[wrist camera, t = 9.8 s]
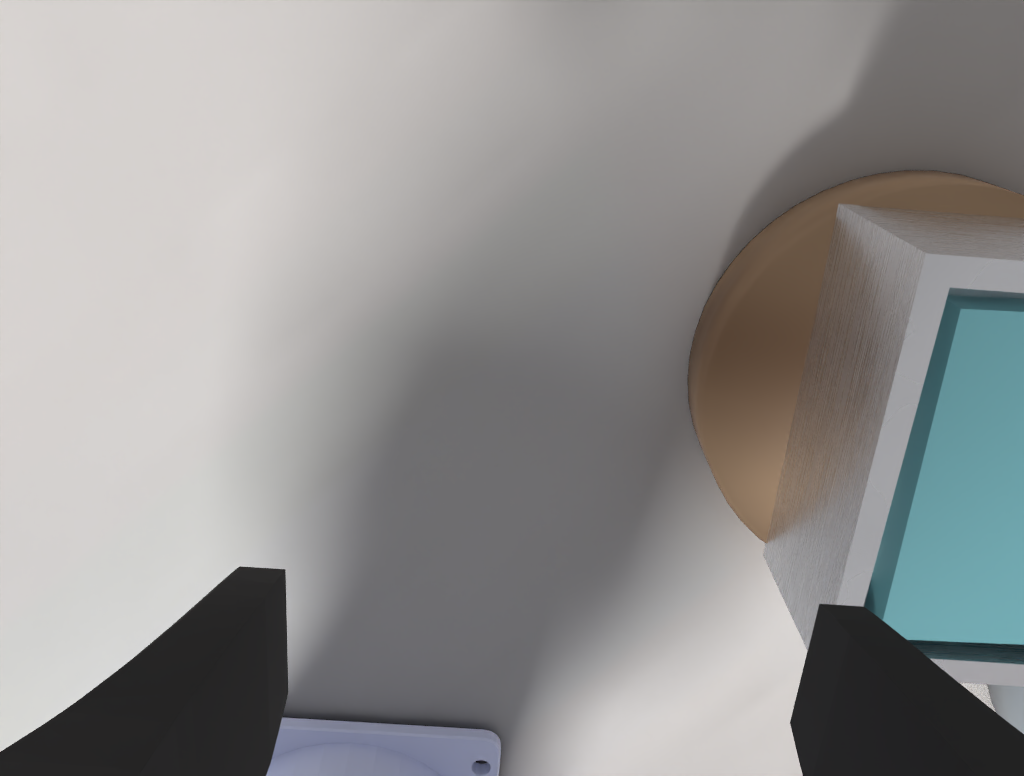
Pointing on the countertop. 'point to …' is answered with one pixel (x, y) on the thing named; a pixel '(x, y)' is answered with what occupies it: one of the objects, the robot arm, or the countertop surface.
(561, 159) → the countertop surface
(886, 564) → the cover plate
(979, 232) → the white and teal box
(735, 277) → the walnut stand
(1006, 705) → the grey stand
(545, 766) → the countertop surface
